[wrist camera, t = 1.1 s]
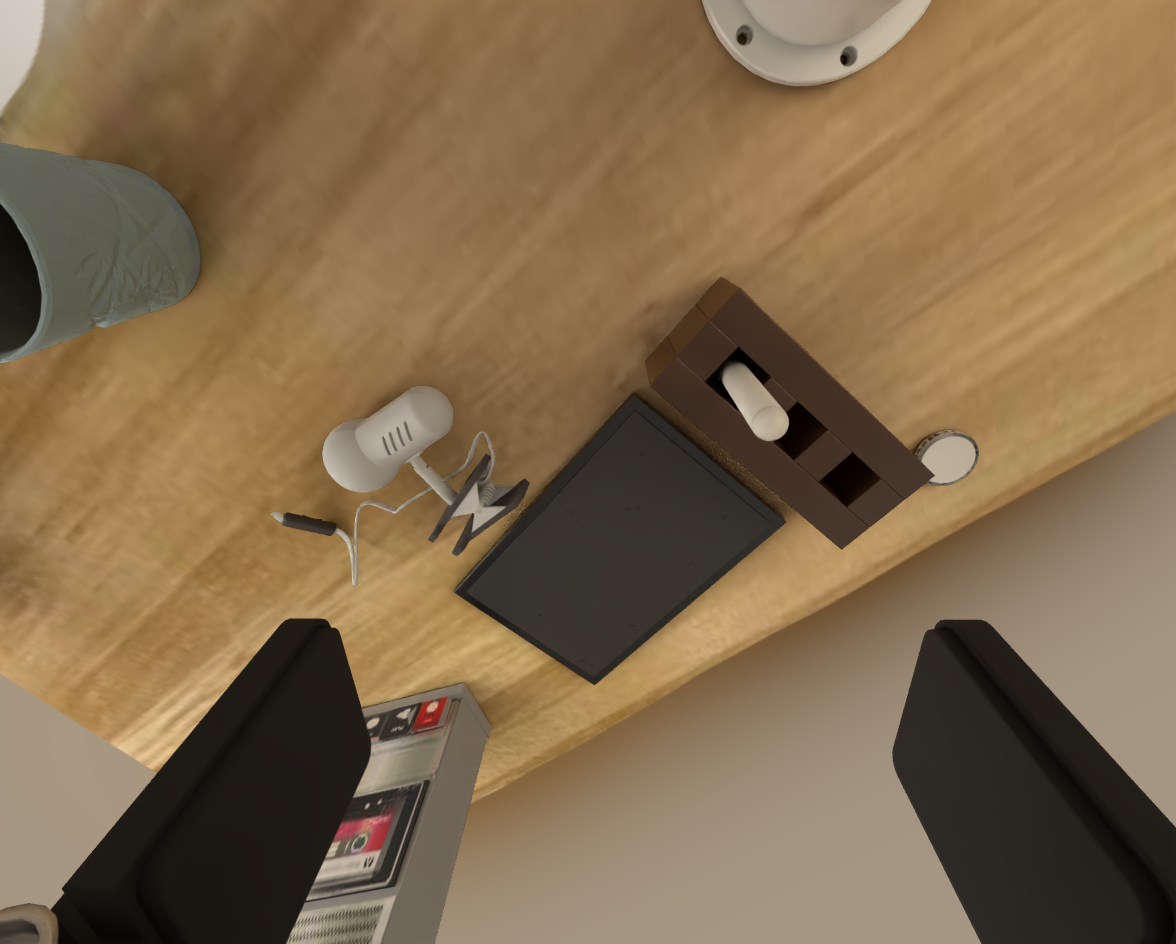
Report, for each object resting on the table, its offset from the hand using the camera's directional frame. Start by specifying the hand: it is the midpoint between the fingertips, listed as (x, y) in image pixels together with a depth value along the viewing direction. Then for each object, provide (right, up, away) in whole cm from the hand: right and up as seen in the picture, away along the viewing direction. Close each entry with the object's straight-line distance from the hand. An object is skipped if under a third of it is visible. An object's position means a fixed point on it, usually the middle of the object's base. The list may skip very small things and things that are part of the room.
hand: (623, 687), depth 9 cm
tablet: (+1, -3, +34) cm, 34 cm away
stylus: (+8, +11, +27) cm, 31 cm away
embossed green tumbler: (-29, +18, +26) cm, 44 cm away
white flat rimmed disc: (+24, +5, +30) cm, 39 cm away
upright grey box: (-17, -20, +43) cm, 51 cm away
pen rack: (+12, +8, +29) cm, 32 cm away
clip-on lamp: (-14, +3, +33) cm, 36 cm away
